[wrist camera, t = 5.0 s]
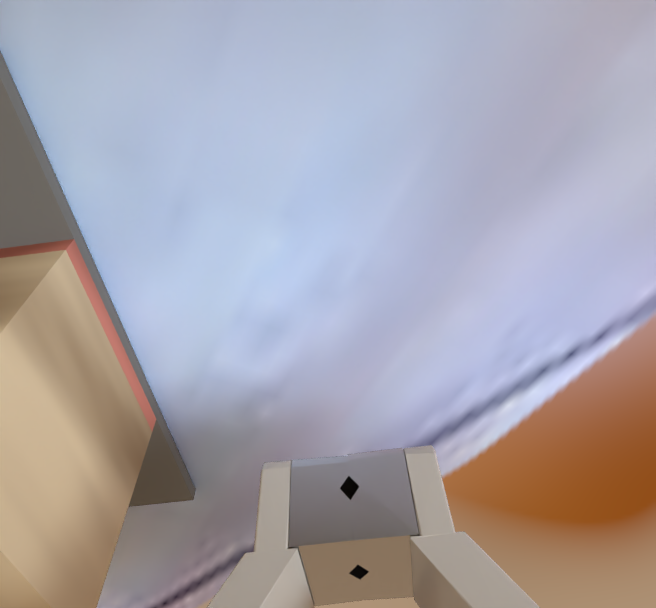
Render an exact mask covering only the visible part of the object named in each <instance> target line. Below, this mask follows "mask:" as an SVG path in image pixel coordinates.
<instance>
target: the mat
mask: <svg viewBox="0 0 656 608" xmlns="http://www.w3.org/2000/svg"><path fill="white" fill-rule="evenodd" d="M71 239H74V240H75V242H76V244H77V247H78V249H79V251H80V253H81V255H82V257H83V260H84V262H85V264H86V266H87V268H88V271H89V273H90V275H91V277H92V279H93V282H94V284H95V286H96V288H97V290H98V292H99V295H100V297H101V299H102V301H103V303H104V306H105V308H106V310H107V312H108V314H109V316H110V319H111V321H112V323H113V325H114V327H115V330H116V332H117V334H118V336H119V338H120V341H121V343H122V345H123V347H124V349H125V351H126V354H127V356H128V358H129V360H130V362H131V365H132V367H133V369H134V371H135V373H136V376H137V378H138V380H139V382H140V384H141V386H142V389H143V391H144V393H145V395H146V397H147V400H148V402H149V404H150V406H151V408H152V410H153V413H154V415H155V417H156V421H155V425H154V428H153V431H152V434H151V437H150V440H149V443H148V447H147V450H146V453H145V456H144V459H143V462H142V465H141V469H140V472H139V475H138V478H137V481H136V484H135V487H134V491H133V494H132V497H131V500H130V503H129V506H128V507H130V506H139V505H149V504H159V503H168V502H178V501H188V500H193V499H194V495H195V487H194V485H193V483H192V481H191V478H190V476H189V474H188V472H187V469H186V467H185V465H184V463H183V460H182V458H181V456H180V454H179V451H178V449H177V447H176V445H175V442H174V440H173V438H172V436H171V433H170V431H169V429H168V427H167V425H166V422H165V420H164V418H163V416H162V413H161V411H160V409H159V407H158V404H157V402H156V400H155V398H154V395H153V393H152V391H151V389H150V386H149V384H148V382H147V380H146V377H145V375H144V373H143V371H142V368H141V366H140V364H139V362H138V359H137V357H136V355H135V353H134V350H133V348H132V346H131V344H130V341H129V339H128V337H127V335H126V332H125V330H124V328H123V326H122V323H121V321H120V319H119V317H118V314H117V312H116V310H115V308H114V305H113V303H112V301H111V299H110V296H109V294H108V292H107V290H106V287H105V285H104V283H103V281H102V278H101V276H100V274H99V272H98V270H97V267H96V265H95V263H94V261H93V258H92V256H91V254H90V252H89V249H88V247H87V245H86V243H85V240H84V238H83V236H82V234H81V231H80V229H79V227H78V225H77V222H76V220H75V218H74V216H73V213H72V211H71V209H70V207H69V204H68V202H67V200H66V198H65V195H64V193H63V191H62V189H61V186H60V184H59V182H58V180H57V177H56V175H55V173H54V171H53V168H52V166H51V164H50V162H49V159H48V157H47V155H46V153H45V150H44V148H43V146H42V144H41V141H40V139H39V137H38V135H37V132H36V130H35V128H34V126H33V124H32V121H31V119H30V117H29V115H28V112H27V110H26V108H25V106H24V103H23V101H22V99H21V97H20V94H19V92H18V90H17V88H16V85H15V83H14V81H13V79H12V76H11V74H10V72H9V70H8V67H7V65H6V63H5V61H4V58H3V56H2V54H1V52H0V249H1V248H9V247H17V246H25V245H32V244H40V243H48V242H55V241H63V240H71Z"/></svg>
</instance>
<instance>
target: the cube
mask: <svg viewBox="0 0 656 608" xmlns="http://www.w3.org/2000/svg"><path fill="white" fill-rule="evenodd" d="M155 421H156V417H155V415H154V413H153V410H152V408H151V406H150V404H149V402H148V400H147V397H146V395H145V393H144V391H143V389H142V386H141V384H140V382H139V380H138V378H137V376H136V373H135V371H134V369H133V367H132V365H131V362H130V360H129V358H128V356H127V354H126V351H125V349H124V347H123V345H122V343H121V341H120V338H119V336H118V334H117V332H116V330H115V327H114V325H113V323H112V321H111V319H110V316H109V314H108V312H107V310H106V308H105V306H104V303H103V301H102V299H101V297H100V295H99V292H98V290H97V288H96V286H95V284H94V282H93V279H92V277H91V275H90V273H89V271H88V268H87V266H86V264H85V262H84V260H83V257H82V255H81V253H80V251H79V249H78V247H77V244H76V242H75V240H74V239H71V240H63V241H55V242H48V243H40V244H32V245H25V246H17V247H9V248H1V249H0V608H96V607H97V604H98V601H99V597H100V594H101V591H102V588H103V585H104V582H105V579H106V575H107V572H108V569H109V566H110V563H111V560H112V557H113V553H114V550H115V547H116V544H117V541H118V538H119V535H120V531H121V528H122V525H123V522H124V519H125V516H126V513H127V509H128V506H129V503H130V500H131V497H132V494H133V491H134V487H135V484H136V481H137V478H138V475H139V472H140V469H141V465H142V462H143V459H144V456H145V453H146V450H147V447H148V443H149V440H150V437H151V434H152V431H153V428H154V425H155Z"/></svg>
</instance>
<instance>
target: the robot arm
mask: <svg viewBox="0 0 656 608" xmlns="http://www.w3.org/2000/svg"><path fill="white" fill-rule="evenodd" d="M405 597H414V600H415V601H416V603H417V604H418V606H419V607H420V608H540V607H539V606H538V605H537V604H536V603H535V602H534V601H533V600H532V599H531V598H530V597H529V596H528V595H527V594H526V593H525V592H524V591H523V590H522V589H521V588H520V587H519V586H518V585H517V584H516V583H515V582H514V581H513V580H512V579H511V578H510V577H509V576H508V575H507V574H506V573H505V572H504V571H503V570H502V569H501V568H500V567H499V566H498V565H497V564H496V563H495V562H494V561H493V560H492V559H491V558H490V557H489V556H488V555H487V554H486V553H485V552H484V551H483V550H482V549H481V548H480V547H479V546H478V545H477V544H476V543H475V542H474V541H473V540H472V539H471V538H470V537H469V536H468V535H467V534H466V533H465V532H455V529H454V525H453V521H452V517H451V513H450V509H449V505H448V501H447V497H446V493H445V489H444V485H443V481H442V477H441V473H440V469H439V465H438V461H437V456H436V452H435V450H434V448H433V447H432V445H429V446H420V447H412V448H404V449H403V448H396V449H388V450H380V451H372V452H363V453H355V454H348V456H336V457H324V458H311V459H298V460H287V461H277V462H266V463H264V465H263V468H262V471H261V479H260V489H259V500H258V511H257V522H256V533H255V544H254V552H249V553H245V554H244V555H243V557H242V558H241V560H240V561H239V562H238V564H237V565H236V567H235V568H234V570H233V571H232V572H231V574H230V575H229V577H228V578H227V579H226V581H225V582H224V584H223V585H222V587H221V588H220V589H219V591H218V592H217V594H216V595H215V596H214V598H213V599H212V601H211V602H210V604H209V605H208V606H207V608H314V606H320V605H328V604H336V603H345V602H353V601H361V600H375V599H389V598H405Z"/></svg>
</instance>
